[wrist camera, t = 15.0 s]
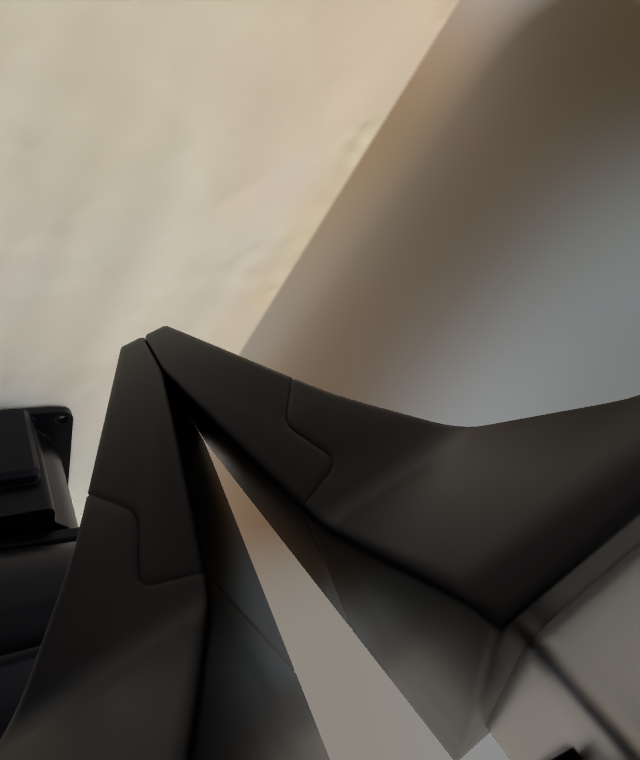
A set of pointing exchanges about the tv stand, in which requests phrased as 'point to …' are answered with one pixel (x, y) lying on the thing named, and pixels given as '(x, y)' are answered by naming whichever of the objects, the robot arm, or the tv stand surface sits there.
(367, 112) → the tv stand surface
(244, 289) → the tv stand surface
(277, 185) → the tv stand surface
